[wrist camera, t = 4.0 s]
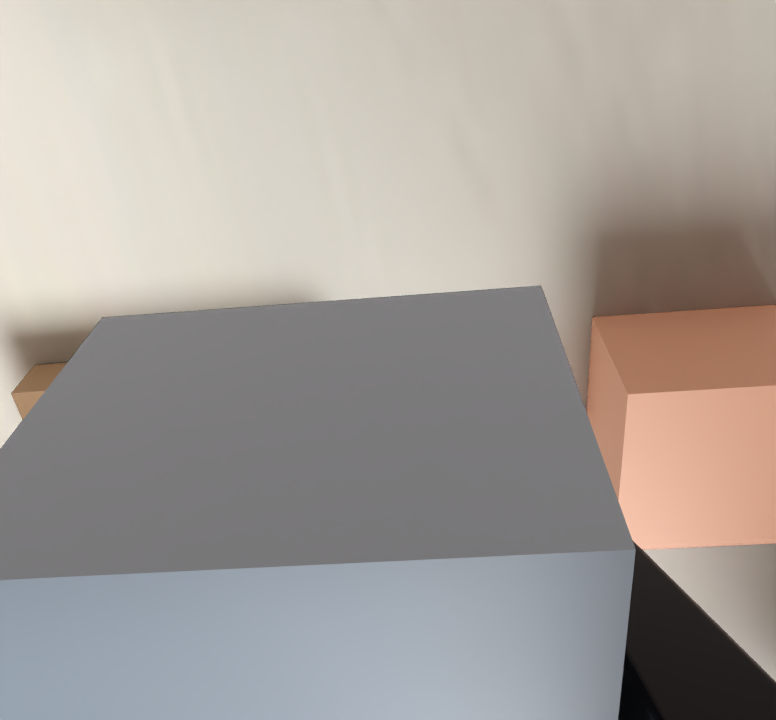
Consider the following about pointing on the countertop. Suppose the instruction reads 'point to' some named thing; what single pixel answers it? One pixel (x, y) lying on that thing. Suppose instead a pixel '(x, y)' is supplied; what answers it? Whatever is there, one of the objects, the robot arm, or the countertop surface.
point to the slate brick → (314, 520)
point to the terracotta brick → (688, 423)
